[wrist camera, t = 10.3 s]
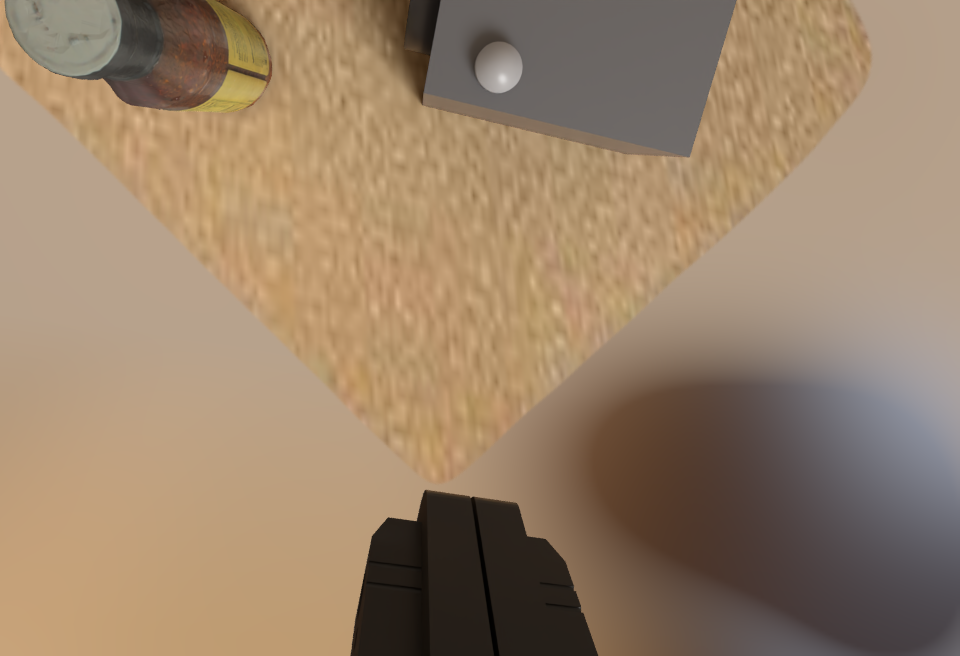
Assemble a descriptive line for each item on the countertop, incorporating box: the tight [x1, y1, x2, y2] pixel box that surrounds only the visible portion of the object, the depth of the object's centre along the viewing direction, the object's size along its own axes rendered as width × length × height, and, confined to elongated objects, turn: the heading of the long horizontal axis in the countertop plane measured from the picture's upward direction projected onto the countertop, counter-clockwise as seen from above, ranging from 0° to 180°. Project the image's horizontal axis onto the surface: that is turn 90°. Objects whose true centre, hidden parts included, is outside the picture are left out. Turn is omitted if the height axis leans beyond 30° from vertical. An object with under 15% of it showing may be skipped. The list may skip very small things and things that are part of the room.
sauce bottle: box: [5, 0, 272, 113], centre depth 32 cm, size 7×6×20 cm
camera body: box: [404, 0, 736, 157], centre depth 37 cm, size 10×17×12 cm, turn 77°
